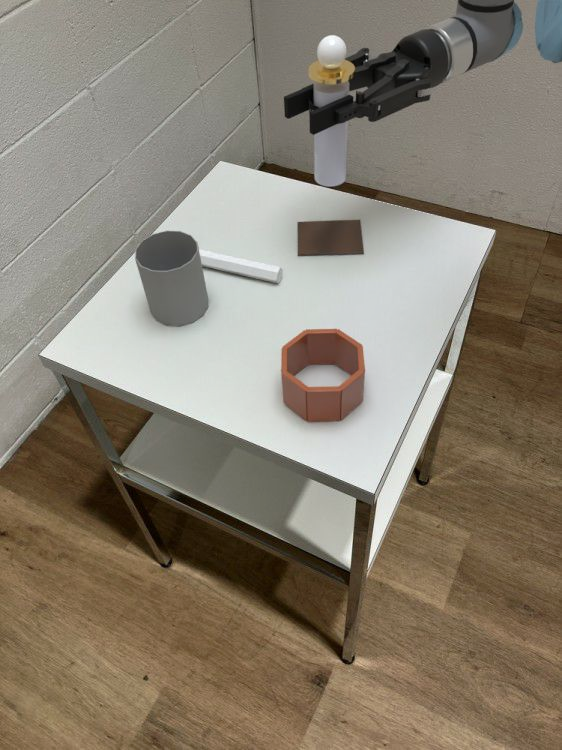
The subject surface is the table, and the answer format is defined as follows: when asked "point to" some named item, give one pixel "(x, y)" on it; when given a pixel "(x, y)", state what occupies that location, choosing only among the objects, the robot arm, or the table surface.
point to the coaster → (330, 238)
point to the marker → (241, 266)
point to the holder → (322, 350)
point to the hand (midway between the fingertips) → (298, 115)
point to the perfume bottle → (328, 88)
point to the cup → (172, 277)
